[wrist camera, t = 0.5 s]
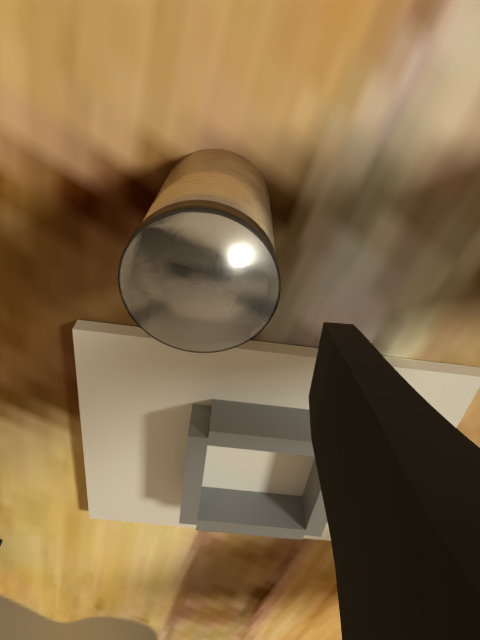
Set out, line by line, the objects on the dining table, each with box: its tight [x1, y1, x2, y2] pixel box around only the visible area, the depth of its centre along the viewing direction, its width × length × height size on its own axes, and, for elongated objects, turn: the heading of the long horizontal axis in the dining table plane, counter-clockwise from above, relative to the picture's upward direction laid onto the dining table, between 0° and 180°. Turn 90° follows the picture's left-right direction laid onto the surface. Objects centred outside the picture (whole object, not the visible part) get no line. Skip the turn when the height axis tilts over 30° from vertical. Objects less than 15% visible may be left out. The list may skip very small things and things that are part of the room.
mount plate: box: [72, 320, 480, 541], centre depth 25 cm, size 20×15×3 cm
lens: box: [118, 149, 281, 353], centre depth 15 cm, size 4×4×7 cm
